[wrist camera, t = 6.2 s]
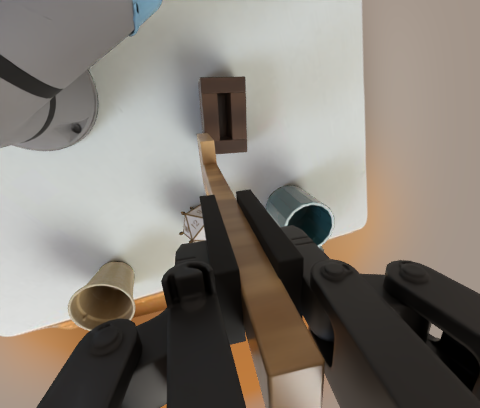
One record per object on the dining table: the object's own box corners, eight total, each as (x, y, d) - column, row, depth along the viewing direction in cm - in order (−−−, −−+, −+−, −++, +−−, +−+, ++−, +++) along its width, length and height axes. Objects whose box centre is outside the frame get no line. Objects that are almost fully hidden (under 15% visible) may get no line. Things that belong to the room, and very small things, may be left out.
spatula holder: (239, 146, 43) (247, 152, 37) (203, 148, 42) (206, 154, 36) (236, 81, 39) (245, 76, 34) (198, 82, 38) (200, 77, 32)
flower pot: (129, 302, 49) (118, 339, 41) (79, 285, 46) (57, 322, 38) (152, 265, 47) (145, 296, 39) (102, 245, 44) (83, 275, 36)
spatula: (213, 181, 30) (319, 461, 6) (203, 182, 30) (272, 477, 6) (207, 132, 28) (333, 276, 4) (196, 133, 28) (263, 290, 4)
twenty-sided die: (212, 210, 50) (244, 244, 45) (175, 233, 47) (204, 273, 41) (206, 178, 43) (243, 214, 38) (161, 202, 40) (195, 246, 34)
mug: (257, 202, 47) (274, 223, 38) (296, 176, 47) (321, 191, 38) (285, 244, 51) (305, 272, 43) (320, 221, 51) (348, 244, 42)
